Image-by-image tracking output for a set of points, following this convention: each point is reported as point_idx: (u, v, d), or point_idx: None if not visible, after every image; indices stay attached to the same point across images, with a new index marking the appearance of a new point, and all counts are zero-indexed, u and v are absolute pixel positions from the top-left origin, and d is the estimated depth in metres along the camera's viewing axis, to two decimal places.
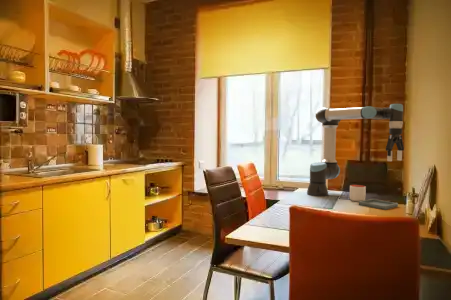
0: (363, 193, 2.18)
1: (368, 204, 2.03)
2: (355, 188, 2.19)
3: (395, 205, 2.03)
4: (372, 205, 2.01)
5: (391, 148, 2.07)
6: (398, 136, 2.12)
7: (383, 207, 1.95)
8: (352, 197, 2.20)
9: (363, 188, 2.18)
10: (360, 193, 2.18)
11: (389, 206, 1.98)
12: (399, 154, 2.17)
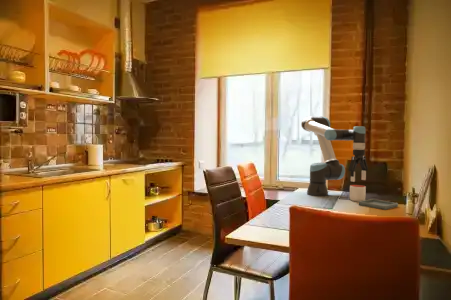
0: (363, 193, 2.18)
1: (368, 204, 2.03)
2: (355, 188, 2.19)
3: (395, 205, 2.03)
4: (372, 205, 2.01)
5: (354, 169, 2.16)
6: (361, 157, 2.22)
7: (383, 207, 1.95)
8: (352, 197, 2.20)
9: (363, 188, 2.18)
10: (360, 193, 2.18)
11: (389, 206, 1.98)
12: (363, 174, 2.26)
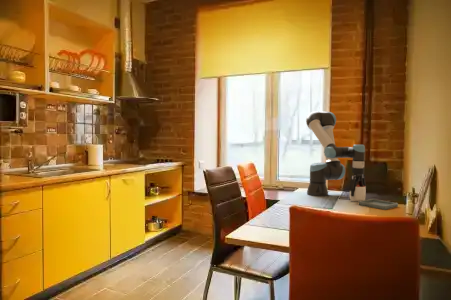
0: (363, 193, 2.18)
1: (368, 204, 2.03)
2: (355, 188, 2.18)
3: (395, 205, 2.03)
4: (372, 205, 2.01)
5: (354, 189, 2.18)
6: (361, 175, 2.22)
7: (383, 207, 1.95)
8: None
9: (363, 188, 2.18)
10: (360, 193, 2.18)
11: (389, 206, 1.98)
12: None
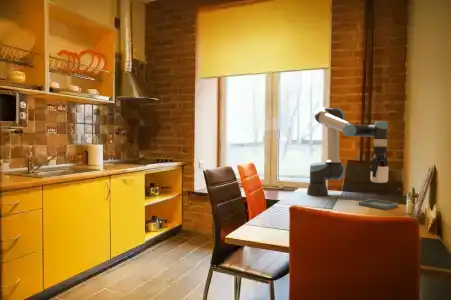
0: (386, 173, 2.01)
1: (368, 204, 2.03)
2: None
3: (395, 205, 2.03)
4: (372, 205, 2.01)
5: (376, 169, 2.01)
6: (383, 154, 2.05)
7: (383, 207, 1.95)
8: None
9: (386, 168, 2.01)
10: (383, 173, 2.00)
11: (389, 206, 1.98)
12: None
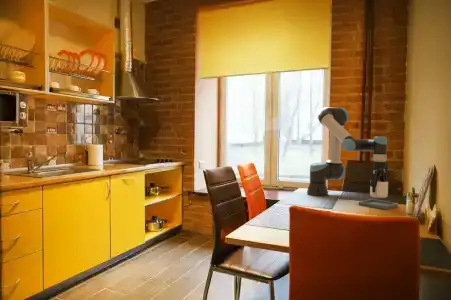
0: (385, 189, 2.01)
1: (368, 204, 2.03)
2: (377, 183, 2.02)
3: (395, 205, 2.03)
4: (372, 205, 2.01)
5: (375, 184, 2.01)
6: (382, 169, 2.06)
7: (383, 207, 1.95)
8: None
9: (385, 183, 2.01)
10: (383, 188, 2.01)
11: (389, 206, 1.98)
12: None
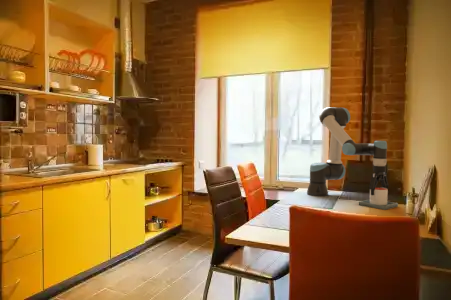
0: (385, 196, 2.02)
1: (368, 204, 2.03)
2: (376, 191, 2.02)
3: (395, 205, 2.03)
4: (372, 205, 2.01)
5: (374, 187, 2.00)
6: (382, 174, 2.06)
7: (383, 207, 1.95)
8: (373, 201, 2.04)
9: (385, 191, 2.02)
10: (382, 196, 2.01)
11: (389, 206, 1.98)
12: None
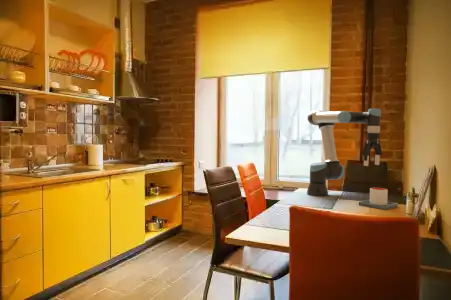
0: (385, 196, 2.02)
1: (368, 204, 2.03)
2: (376, 191, 2.02)
3: (395, 205, 2.03)
4: (372, 205, 2.01)
5: (367, 153, 2.08)
6: (375, 141, 2.13)
7: (383, 207, 1.95)
8: (373, 201, 2.04)
9: (385, 191, 2.02)
10: (382, 196, 2.01)
11: (389, 206, 1.98)
12: (377, 158, 2.17)
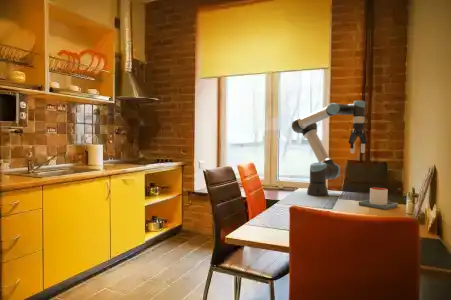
0: (385, 196, 2.02)
1: (368, 204, 2.03)
2: (376, 191, 2.02)
3: (395, 205, 2.03)
4: (372, 205, 2.01)
5: (353, 141, 2.26)
6: (361, 130, 2.31)
7: (383, 207, 1.95)
8: (373, 201, 2.04)
9: (385, 191, 2.02)
10: (382, 196, 2.01)
11: (389, 206, 1.98)
12: (362, 147, 2.35)
